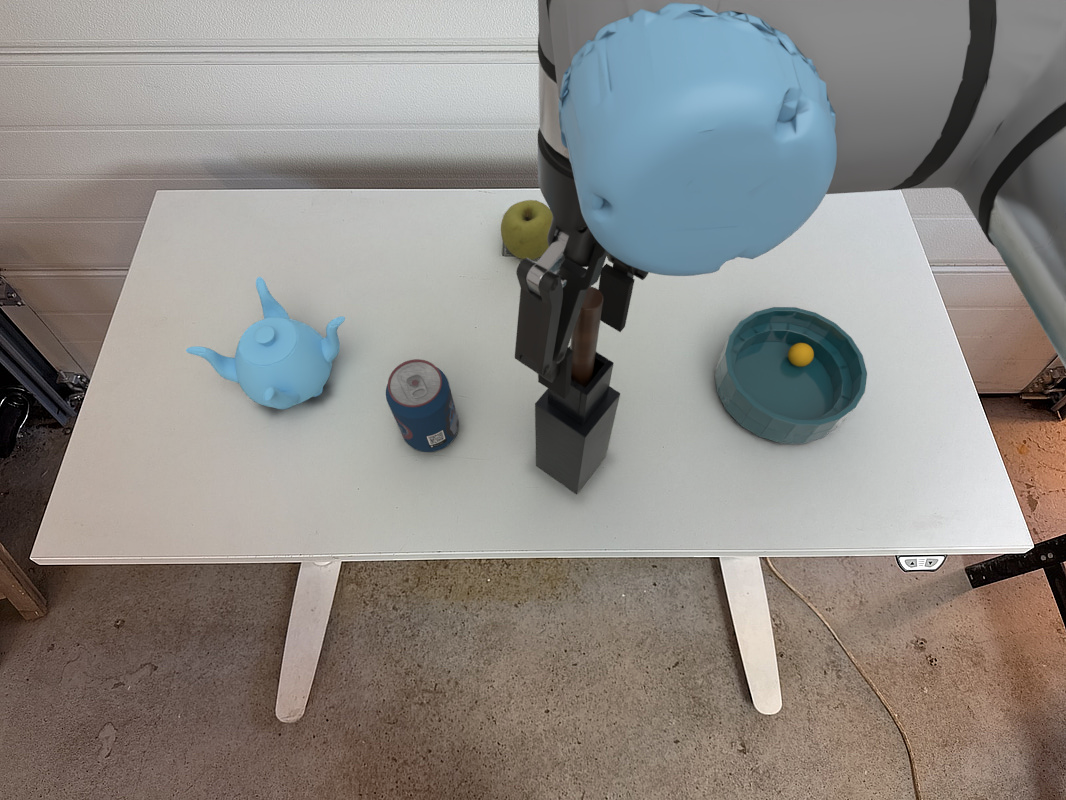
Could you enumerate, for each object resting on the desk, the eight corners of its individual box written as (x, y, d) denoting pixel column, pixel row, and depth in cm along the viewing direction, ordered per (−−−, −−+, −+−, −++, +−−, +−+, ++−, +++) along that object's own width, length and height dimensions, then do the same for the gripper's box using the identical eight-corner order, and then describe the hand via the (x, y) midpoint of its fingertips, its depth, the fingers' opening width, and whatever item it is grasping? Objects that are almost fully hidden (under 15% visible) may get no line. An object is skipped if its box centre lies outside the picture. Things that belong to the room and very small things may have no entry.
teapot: (222, 391, 81) (182, 349, 72) (291, 318, 86) (262, 270, 77) (298, 439, 77) (266, 401, 68) (366, 360, 83) (345, 315, 74)
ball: (802, 375, 80) (810, 362, 77) (780, 362, 81) (788, 350, 78) (812, 359, 81) (821, 346, 78) (791, 347, 82) (799, 334, 79)
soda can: (395, 417, 79) (373, 368, 68) (448, 397, 80) (434, 345, 69) (414, 465, 76) (393, 420, 65) (468, 443, 77) (456, 396, 66)
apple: (491, 256, 91) (488, 220, 84) (523, 220, 94) (521, 183, 87) (536, 279, 89) (535, 244, 82) (566, 242, 92) (568, 205, 85)
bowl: (809, 471, 75) (829, 451, 69) (689, 398, 79) (700, 374, 74) (866, 376, 81) (889, 351, 75) (752, 313, 85) (766, 285, 80)
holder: (576, 494, 74) (589, 408, 54) (535, 465, 75) (533, 372, 56) (605, 456, 76) (628, 360, 56) (565, 429, 78) (573, 327, 58)
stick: (580, 412, 61) (592, 314, 47) (561, 400, 61) (568, 299, 47) (593, 396, 62) (609, 295, 47) (575, 384, 62) (585, 281, 48)
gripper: (650, 11, 39) (613, 258, 59) (428, 209, 32) (472, 415, 52) (760, 57, 37) (682, 297, 57) (549, 281, 29) (545, 466, 50)
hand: (582, 353), depth 54 cm, fingers open, 8 cm apart
